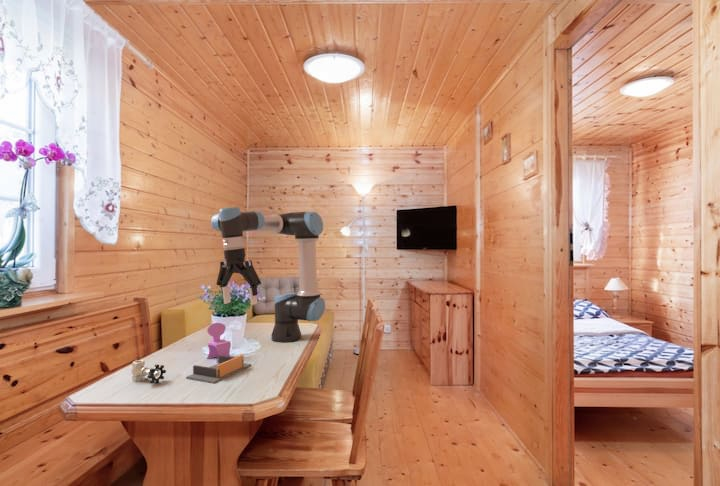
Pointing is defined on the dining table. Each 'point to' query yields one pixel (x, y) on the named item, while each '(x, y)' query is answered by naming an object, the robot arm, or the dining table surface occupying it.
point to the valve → (146, 372)
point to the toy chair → (218, 341)
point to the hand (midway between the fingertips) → (240, 303)
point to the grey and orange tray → (219, 369)
